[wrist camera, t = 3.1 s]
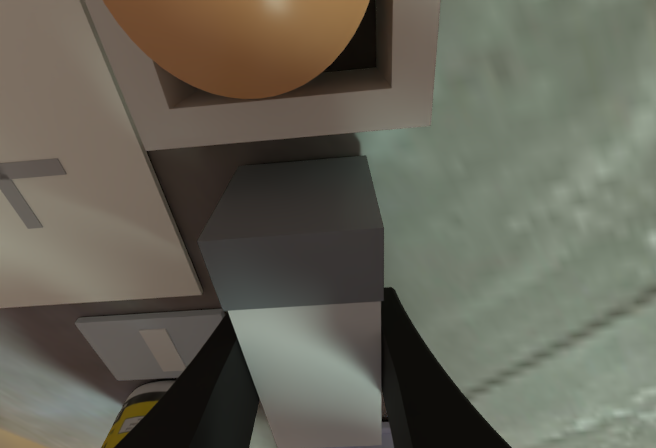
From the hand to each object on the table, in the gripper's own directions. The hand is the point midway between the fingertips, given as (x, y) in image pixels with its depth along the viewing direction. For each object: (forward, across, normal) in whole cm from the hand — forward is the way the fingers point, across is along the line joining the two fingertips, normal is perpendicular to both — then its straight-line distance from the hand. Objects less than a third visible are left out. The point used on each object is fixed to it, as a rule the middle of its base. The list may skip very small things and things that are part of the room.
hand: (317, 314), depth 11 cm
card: (+2, +7, +3) cm, 8 cm away
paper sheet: (+2, +9, -5) cm, 11 cm away
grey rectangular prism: (+2, 0, 0) cm, 2 cm away
